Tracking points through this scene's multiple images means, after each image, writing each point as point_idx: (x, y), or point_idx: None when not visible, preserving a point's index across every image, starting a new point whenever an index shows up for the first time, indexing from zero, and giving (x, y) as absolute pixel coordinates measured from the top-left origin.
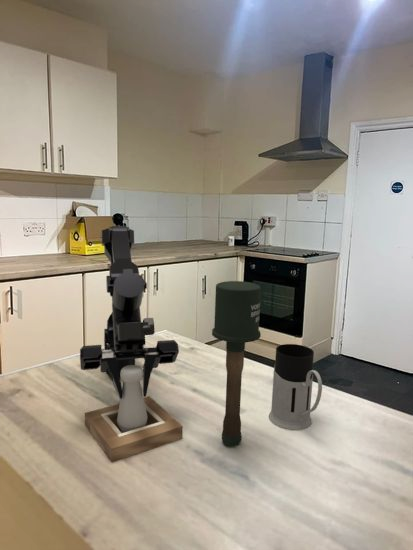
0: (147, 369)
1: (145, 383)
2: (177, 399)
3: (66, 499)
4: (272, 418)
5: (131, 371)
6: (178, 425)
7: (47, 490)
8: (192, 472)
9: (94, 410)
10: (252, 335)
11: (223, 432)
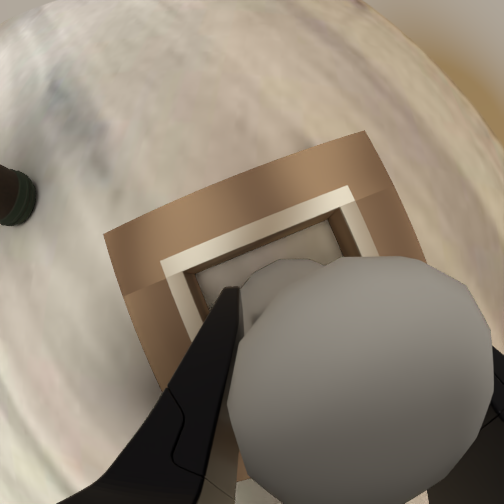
0: (174, 452)
1: (219, 341)
2: None
3: (415, 65)
4: None
5: (414, 295)
6: (115, 239)
7: (456, 99)
8: (140, 90)
9: None
10: None
11: (16, 186)
